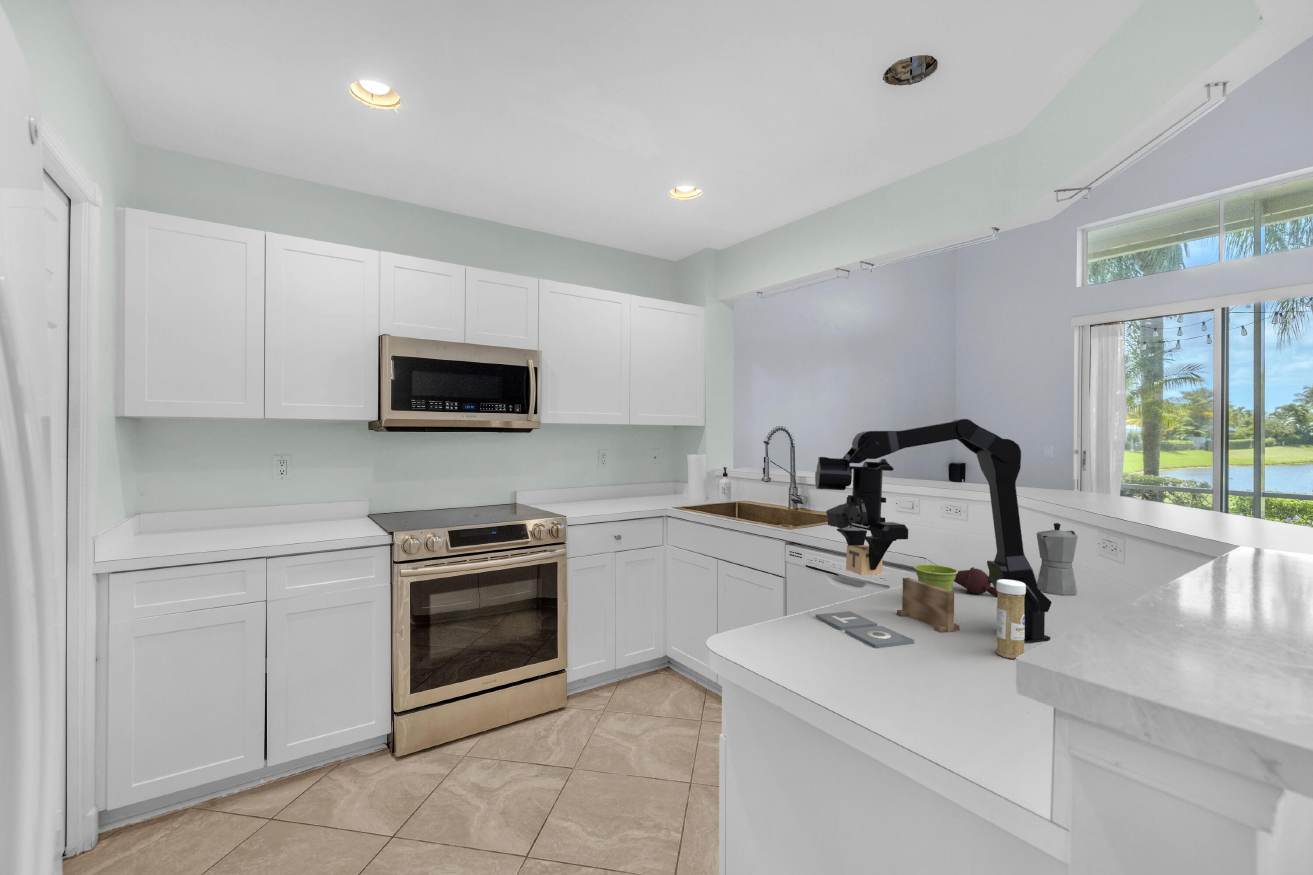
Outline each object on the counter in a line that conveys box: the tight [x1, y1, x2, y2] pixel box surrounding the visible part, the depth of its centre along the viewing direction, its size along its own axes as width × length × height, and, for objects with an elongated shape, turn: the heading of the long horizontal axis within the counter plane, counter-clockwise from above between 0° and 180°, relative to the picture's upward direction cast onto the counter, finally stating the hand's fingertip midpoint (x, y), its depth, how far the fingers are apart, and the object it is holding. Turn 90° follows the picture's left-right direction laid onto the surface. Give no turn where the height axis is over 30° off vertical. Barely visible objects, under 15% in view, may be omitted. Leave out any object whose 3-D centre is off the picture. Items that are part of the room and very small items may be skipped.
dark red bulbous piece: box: [953, 566, 998, 598], centre depth 149 cm, size 7×7×15 cm
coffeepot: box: [1036, 522, 1078, 597], centre depth 153 cm, size 15×9×18 cm, turn 118°
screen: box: [896, 577, 961, 633], centre depth 124 cm, size 13×5×8 cm, turn 18°
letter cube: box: [845, 544, 884, 576], centre depth 120 cm, size 5×5×5 cm
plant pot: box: [913, 564, 959, 592], centre depth 138 cm, size 9×9×9 cm
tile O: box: [844, 625, 915, 649], centre depth 114 cm, size 9×9×1 cm
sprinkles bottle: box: [995, 579, 1026, 660], centre depth 105 cm, size 5×5×14 cm
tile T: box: [814, 610, 878, 631], centre depth 124 cm, size 9×9×1 cm
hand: (864, 566), depth 120 cm, fingers closed on letter cube, 5 cm apart
